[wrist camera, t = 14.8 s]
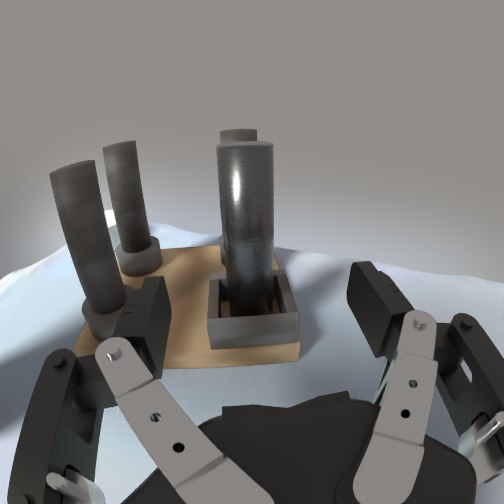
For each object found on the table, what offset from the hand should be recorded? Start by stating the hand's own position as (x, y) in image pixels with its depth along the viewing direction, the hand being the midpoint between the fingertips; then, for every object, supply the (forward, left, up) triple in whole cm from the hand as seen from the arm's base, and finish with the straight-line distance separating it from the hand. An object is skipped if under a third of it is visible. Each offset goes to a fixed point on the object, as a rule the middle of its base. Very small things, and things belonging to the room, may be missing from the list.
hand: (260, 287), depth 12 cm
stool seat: (-6, +13, -11) cm, 19 cm away
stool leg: (0, +8, -9) cm, 13 cm away
